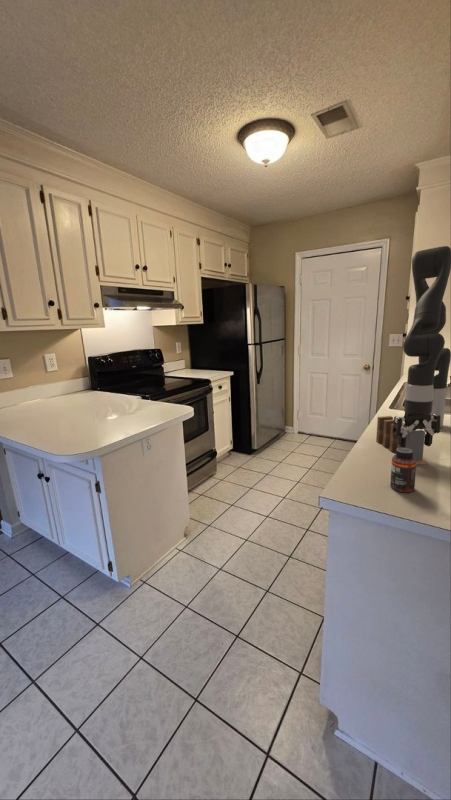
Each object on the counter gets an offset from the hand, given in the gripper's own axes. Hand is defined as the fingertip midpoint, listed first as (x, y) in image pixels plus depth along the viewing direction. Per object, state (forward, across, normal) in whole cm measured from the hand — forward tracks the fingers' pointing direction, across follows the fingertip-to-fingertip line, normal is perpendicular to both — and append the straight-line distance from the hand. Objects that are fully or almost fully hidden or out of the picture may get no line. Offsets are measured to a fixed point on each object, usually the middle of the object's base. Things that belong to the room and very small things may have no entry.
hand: (414, 446), depth 106 cm
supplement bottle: (+5, +14, +16) cm, 22 cm away
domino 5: (+5, 0, 0) cm, 5 cm away
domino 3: (+5, 0, -9) cm, 10 cm away
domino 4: (+5, 0, -4) cm, 7 cm away
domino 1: (+5, 0, -18) cm, 19 cm away
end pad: (+5, 0, 0) cm, 5 cm away
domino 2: (+5, 0, -14) cm, 15 cm away
